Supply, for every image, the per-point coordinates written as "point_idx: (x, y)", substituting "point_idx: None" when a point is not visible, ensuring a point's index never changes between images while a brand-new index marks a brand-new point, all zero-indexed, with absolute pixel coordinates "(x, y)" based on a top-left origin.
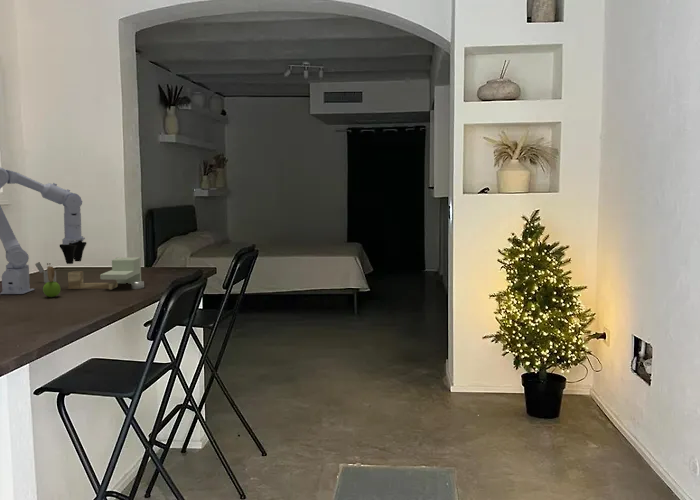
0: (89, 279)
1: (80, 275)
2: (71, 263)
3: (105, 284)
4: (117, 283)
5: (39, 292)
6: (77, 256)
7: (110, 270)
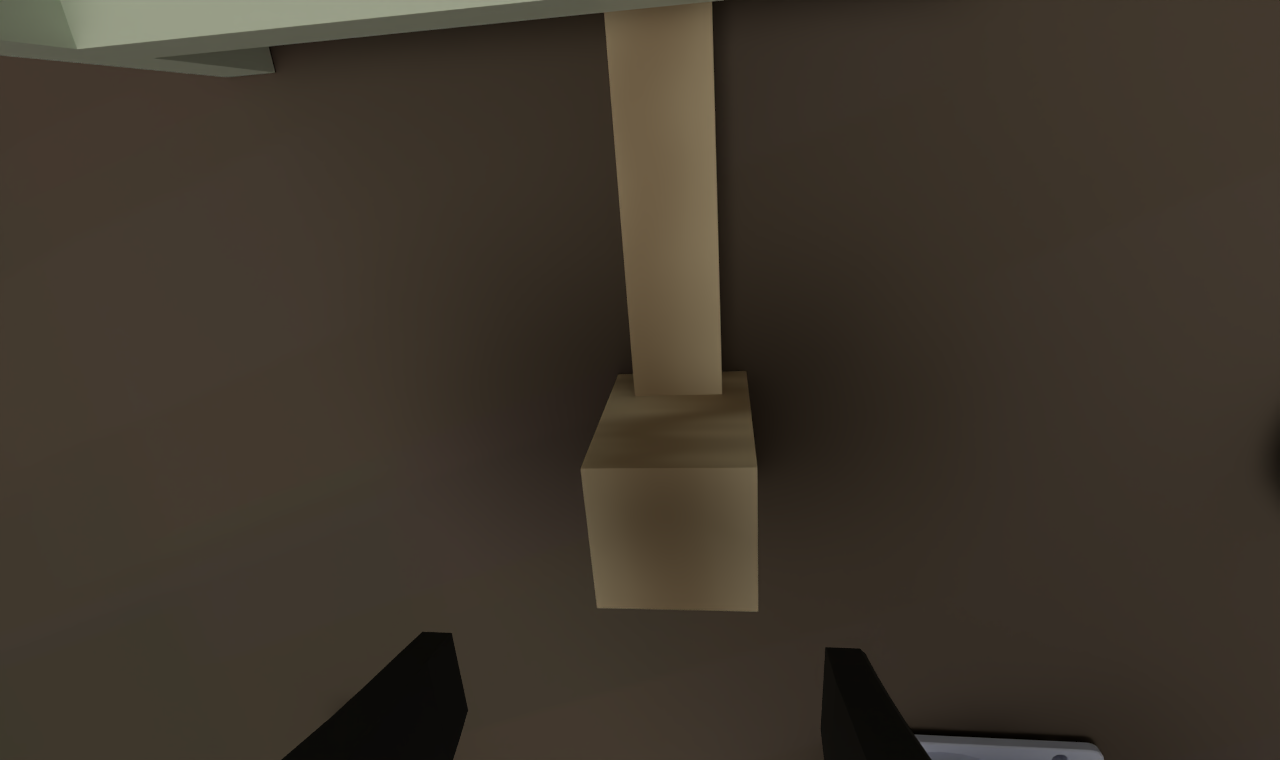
0: (113, 505)
1: (701, 442)
2: (865, 665)
3: (711, 33)
4: (271, 59)
5: (972, 655)
6: (416, 757)
7: (414, 10)
